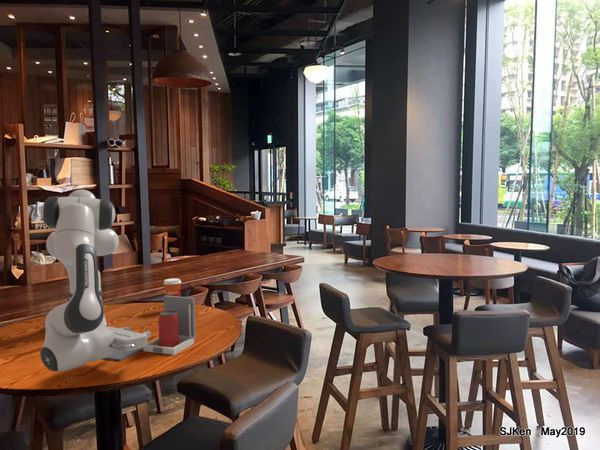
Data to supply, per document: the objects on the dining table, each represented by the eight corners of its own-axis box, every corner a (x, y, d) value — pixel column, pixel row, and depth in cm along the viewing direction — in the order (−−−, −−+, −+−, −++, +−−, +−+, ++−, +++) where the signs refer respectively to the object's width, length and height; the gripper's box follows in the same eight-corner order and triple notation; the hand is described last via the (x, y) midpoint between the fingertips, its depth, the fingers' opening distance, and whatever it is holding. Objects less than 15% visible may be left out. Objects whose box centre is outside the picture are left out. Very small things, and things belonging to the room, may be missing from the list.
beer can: (173, 351, 157) (172, 315, 156) (155, 349, 158) (154, 314, 157) (182, 344, 163) (181, 310, 163) (165, 343, 165) (164, 310, 164)
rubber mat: (90, 357, 152) (90, 355, 152) (116, 345, 163) (116, 343, 163) (120, 361, 148) (120, 359, 148) (144, 348, 159) (144, 347, 159)
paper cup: (161, 312, 207) (160, 281, 206) (168, 308, 215) (167, 277, 214) (177, 313, 206) (177, 281, 205) (185, 308, 214) (184, 278, 213)
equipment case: (141, 351, 156) (140, 304, 155) (167, 339, 170) (165, 295, 168) (172, 355, 152) (170, 307, 151) (195, 342, 166) (194, 297, 164)
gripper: (122, 338, 132) (161, 326, 144) (79, 328, 143) (119, 317, 155) (123, 360, 133) (162, 346, 144) (80, 348, 144) (119, 336, 155)
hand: (139, 331), depth 150 cm, fingers open, 8 cm apart
